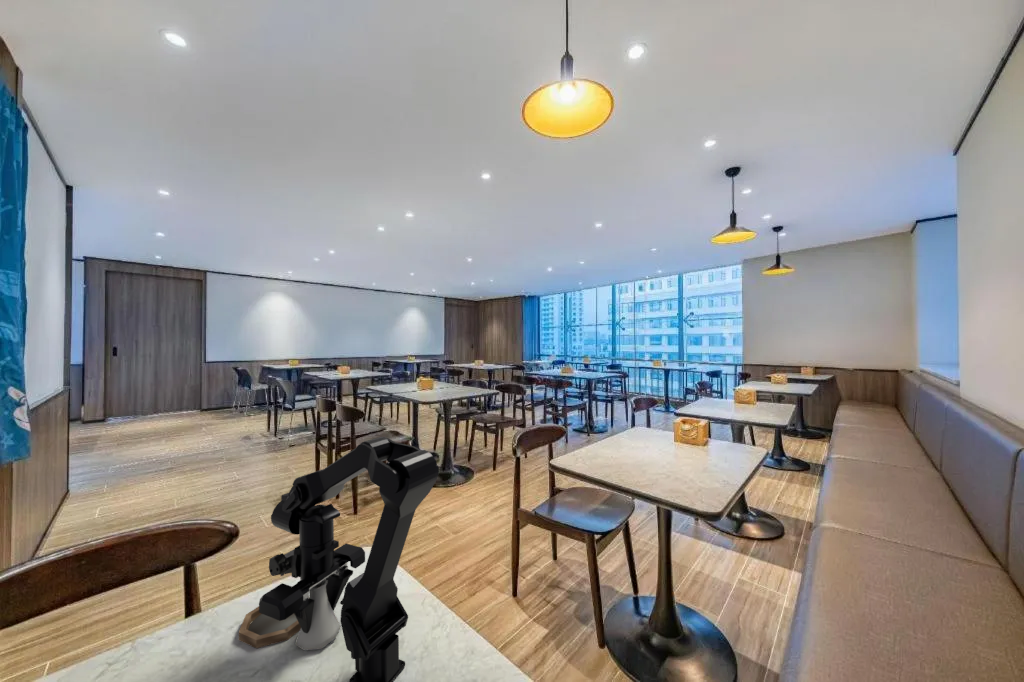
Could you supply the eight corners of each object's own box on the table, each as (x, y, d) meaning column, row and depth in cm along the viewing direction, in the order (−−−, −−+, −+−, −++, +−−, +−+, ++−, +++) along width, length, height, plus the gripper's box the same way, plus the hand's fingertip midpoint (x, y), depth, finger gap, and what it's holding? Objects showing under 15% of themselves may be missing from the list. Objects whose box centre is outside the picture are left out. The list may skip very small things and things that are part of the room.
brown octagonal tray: (325, 610, 80) (325, 602, 80) (269, 654, 69) (269, 645, 69) (285, 595, 84) (285, 588, 84) (226, 634, 73) (226, 627, 73)
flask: (322, 654, 68) (321, 598, 68) (287, 649, 69) (286, 593, 69) (347, 624, 75) (346, 573, 75) (315, 620, 76) (314, 569, 76)
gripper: (326, 511, 84) (328, 583, 84) (237, 556, 67) (238, 646, 67) (366, 520, 79) (367, 595, 79) (281, 570, 62) (282, 667, 62)
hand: (318, 622), depth 72 cm, fingers closed on flask, 5 cm apart
